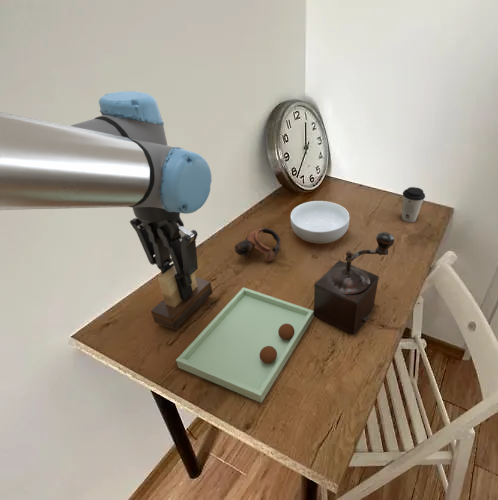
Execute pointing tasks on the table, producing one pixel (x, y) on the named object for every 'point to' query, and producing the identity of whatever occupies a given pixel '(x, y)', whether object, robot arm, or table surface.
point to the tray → (245, 343)
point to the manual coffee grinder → (349, 290)
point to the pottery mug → (258, 244)
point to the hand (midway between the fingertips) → (181, 293)
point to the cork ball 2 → (286, 331)
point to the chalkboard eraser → (178, 300)
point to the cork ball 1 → (268, 354)
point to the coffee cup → (412, 203)
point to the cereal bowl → (319, 221)
